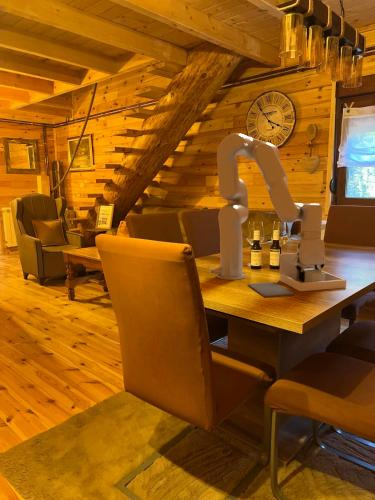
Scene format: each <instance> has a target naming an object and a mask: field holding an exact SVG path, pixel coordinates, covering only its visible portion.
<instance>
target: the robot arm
mask: <svg viewBox="0 0 375 500" xmlns="http://www.w3.org/2000/svg"><path fill="white" fill-rule="evenodd" d="M237 156H239V157H244V158H246V159H249V160H251V161H254V162H256V164H257V167H258V170H259V172H260V173H261V176H262V178H263V179H264V182H265V184H266V189H267V191H268V195H269V199H270V201H271V204H272V205H273V208H274V211H275V212H276V214H277V216H278V218H279V219H280V220H281V222H283V223H285V224H293V223H294V222H298V221H301V224H300V232H298V233H297V237H300V238H299V239H298V242H297V247H296V253H297V254H296V258H295V259H294V260H293V261H292V262H291V264H292V265H293V266H295V268H296V269H297V270H298V271H299V281H298V282H300V281H301V282H300V283H302V282H304V279H305V272H304V269H305V266H306V265H314V267H315V269H316V270H318V271H321V269H323V268H324V267H325V265H327V264H328V263H329V261H328V259H327V258H326V257H325V243H324V239H323V238H322V222H323V205H322V204H320V203H301V202H300V203H299V202H294V200H293V197H292V196H291V194H290V191H289V186H288V174H287V173H286V171H285V169H284V166H283V163H282V162H281V160H280V151H279V149H278V147H277V145H274V144H272V143H270V142H266V141H263V140H259V139H256V138H254V137H251V136H248V135H245V134H243V133H240V132H239V133H238V132H235V133H234V132H233V133H230V134H227V136H225V137H224V138H223V139H222V140H221V141H220V143H219V145H218V147H217V151H216V161H217V162H216V164H217V177H218V179H217V180H218V181H217V182H218V192H219V193H218V194H219V196H220V197H221V198H222V199H223V200H225V201H227V204H225V205H224V206H222V207H221V208H220V210H219V212H218V216H217V220H218V226H219V244H220V245H219V247H220V248H219V249H220V250H219V251H220V253H219V256H220V265H218V267H216V268H209V273H210V274H215V275H216V278H218V279H220V280H224V281H225V280H226V281H227V280H228V281H236V280H237V281H238V280H243V279H245V278H246V277H247V274H246V273H245V272H243V228H242V224H243V223H245V222H246V221H247V219H248V218H249V211H250V210H249V209H250V207H249V195H248V194H249V193H248V187H247V184H246V183H245V181H244V180H243V179H241V178H240V177H239V176H240V175H239V163H238V160H237V158H238V157H237ZM297 263H299V265H298V264H297Z"/></svg>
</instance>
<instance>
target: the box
mask: <svg viewBox="0 0 375 500" xmlns="http://www.w3.org/2000/svg"><path fill="white" fill-rule="evenodd" d="M304 272H305V279H304V282H301V281H299V271H298V270H297V277H296V281H298V282H300V283H306V282H319V281H326V280H325V274H326V273H323V272H321V271H318V270H316V269H313V268H311V267H305V269H304Z"/></svg>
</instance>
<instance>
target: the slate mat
mask: <svg viewBox="0 0 375 500" xmlns="http://www.w3.org/2000/svg"><path fill="white" fill-rule="evenodd" d="M247 286H248V287H249V288H251V289H252V290H253V291H255V292H257V293H258V294H259V295H261V296H263V297H264V298H276V297H277V298H278V297H279V298H280V297H288V296H289V297H290V296H295V293H294V292H292V291H291V290H289V289H287V288H286V287H284V286H282V285H280V284H279V283H276V282H275V281H271V282H258V283H249V284H247Z"/></svg>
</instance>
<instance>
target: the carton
mask: <svg viewBox="0 0 375 500" xmlns="http://www.w3.org/2000/svg"><path fill="white" fill-rule="evenodd" d="M296 254H297V252H294V253H292V252H291V253H279V282H282V283H284V284H286V285H287V286H289V287H291V288H293V289H295V290H297V291H299V292H309V291H311V292H312V291H319V290H332V289H333V290H334V289H346V288H347V279H345V278H342V277H339V276H337V275H335V274H332V273H329V272H326V271H323V270H322V269H323V268H322V269H321V272H323V273H326V274H325V281H319V282H306V283H302V282H300V281H298V280H296V277H297V269H296V268H295V266H293V265H292V264H291V262H292V261H293V260H294V259H295V258H296ZM297 264H298V265H299V263H297ZM305 267H311V268H313V269H315V267H314V265H306V266H305Z"/></svg>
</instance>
